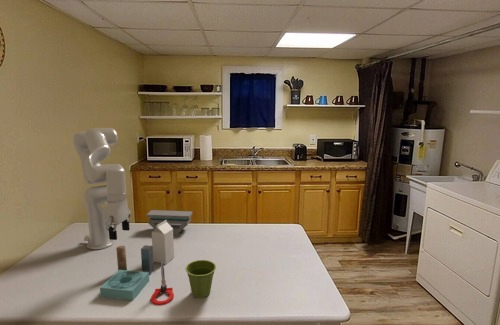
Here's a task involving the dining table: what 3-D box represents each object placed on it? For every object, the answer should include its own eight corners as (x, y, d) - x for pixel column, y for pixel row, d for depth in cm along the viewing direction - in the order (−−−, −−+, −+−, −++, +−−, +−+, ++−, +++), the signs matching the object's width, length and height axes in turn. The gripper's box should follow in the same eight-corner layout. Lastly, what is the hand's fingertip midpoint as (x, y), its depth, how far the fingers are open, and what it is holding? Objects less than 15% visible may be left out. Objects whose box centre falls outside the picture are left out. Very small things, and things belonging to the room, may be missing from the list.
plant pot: (190, 305, 116) (189, 278, 114) (183, 288, 126) (182, 263, 124) (220, 298, 120) (220, 271, 118) (211, 282, 131) (211, 257, 129)
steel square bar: (142, 274, 137) (140, 248, 135) (146, 270, 140) (144, 245, 138) (150, 275, 136) (148, 249, 134) (153, 270, 140) (152, 245, 138)
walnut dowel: (116, 274, 136) (114, 249, 134) (121, 270, 140) (119, 245, 138) (124, 275, 136) (122, 249, 134) (128, 270, 139) (126, 246, 137)
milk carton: (174, 257, 152) (172, 220, 148) (165, 264, 145) (164, 226, 142) (161, 255, 154) (160, 218, 151) (152, 262, 147) (150, 224, 144)
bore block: (100, 296, 121) (99, 287, 120) (120, 278, 134) (119, 269, 133) (133, 300, 119) (132, 290, 118) (149, 281, 132) (148, 272, 131)
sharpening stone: (147, 232, 181) (146, 214, 179) (152, 227, 189) (151, 210, 187) (189, 234, 179) (188, 216, 177) (192, 228, 187) (192, 211, 185)
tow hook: (172, 305, 117) (175, 289, 126) (170, 274, 114) (173, 261, 123) (149, 307, 116) (153, 291, 125) (147, 276, 113) (151, 262, 122)
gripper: (120, 190, 140) (122, 226, 143) (95, 202, 123) (99, 242, 127) (135, 191, 139) (138, 227, 142) (113, 203, 122) (116, 244, 125)
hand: (119, 234), depth 134 cm, fingers open, 9 cm apart
